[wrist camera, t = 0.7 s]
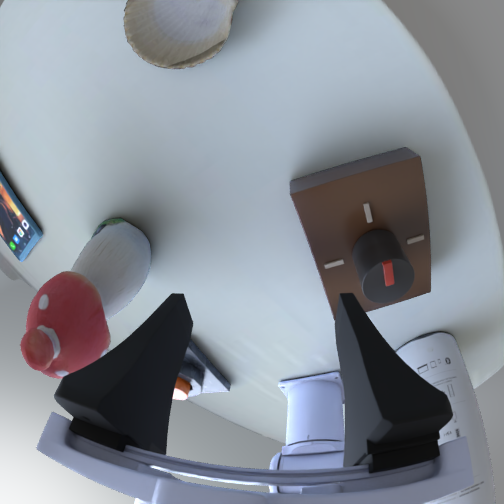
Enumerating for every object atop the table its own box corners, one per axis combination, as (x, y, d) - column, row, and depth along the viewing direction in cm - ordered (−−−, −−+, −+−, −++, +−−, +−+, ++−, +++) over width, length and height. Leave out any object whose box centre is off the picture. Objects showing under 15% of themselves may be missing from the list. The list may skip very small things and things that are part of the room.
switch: (196, 388, 32) (193, 400, 31) (173, 389, 33) (170, 400, 32) (180, 373, 30) (176, 385, 29) (158, 374, 31) (153, 386, 30)
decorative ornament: (128, 193, 21) (2, 328, 9) (180, 249, 24) (103, 409, 11) (81, 247, 25) (-6, 359, 12) (124, 291, 27) (59, 412, 15)
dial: (400, 263, 19) (417, 297, 16) (357, 276, 20) (366, 313, 17) (395, 223, 17) (415, 254, 14) (347, 237, 18) (358, 271, 15)
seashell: (134, 26, 15) (180, 92, 16) (105, 21, 12) (150, 92, 14) (212, -45, 10) (277, 16, 12) (188, -61, 8) (259, -2, 9)
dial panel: (421, 274, 22) (431, 293, 20) (331, 301, 25) (334, 322, 23) (405, 146, 17) (421, 156, 14) (289, 181, 19) (289, 195, 17)
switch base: (230, 384, 35) (227, 402, 33) (178, 387, 38) (173, 403, 35) (187, 335, 30) (180, 356, 28) (132, 343, 33) (124, 360, 30)
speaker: (376, 383, 33) (387, 558, 11) (390, 337, 27) (418, 568, 6) (441, 370, 31) (469, 530, 9) (466, 323, 25) (518, 519, 4)
